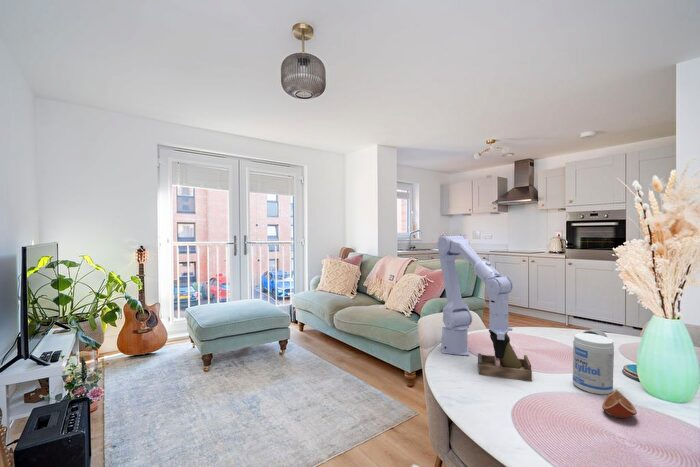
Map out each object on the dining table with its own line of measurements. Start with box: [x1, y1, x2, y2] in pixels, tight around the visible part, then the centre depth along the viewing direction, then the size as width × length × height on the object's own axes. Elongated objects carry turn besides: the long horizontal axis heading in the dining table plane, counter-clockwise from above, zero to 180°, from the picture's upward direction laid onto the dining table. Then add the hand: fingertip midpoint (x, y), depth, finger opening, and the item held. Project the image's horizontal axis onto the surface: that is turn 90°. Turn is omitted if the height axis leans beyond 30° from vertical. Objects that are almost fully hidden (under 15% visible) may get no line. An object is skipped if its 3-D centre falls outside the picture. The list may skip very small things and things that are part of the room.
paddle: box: [494, 355, 500, 367], centre depth 110 cm, size 1×8×4 cm, turn 161°
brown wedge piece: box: [601, 389, 638, 419], centre depth 83 cm, size 8×7×5 cm
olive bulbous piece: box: [496, 333, 522, 369], centre depth 109 cm, size 6×6×11 cm
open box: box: [477, 352, 533, 382], centre depth 109 cm, size 15×10×5 cm, turn 71°
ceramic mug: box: [572, 328, 608, 343], centre depth 130 cm, size 11×8×8 cm
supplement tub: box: [572, 332, 615, 395], centre depth 97 cm, size 10×10×15 cm
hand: (498, 355), depth 109 cm, fingers closed on olive bulbous piece, 5 cm apart
